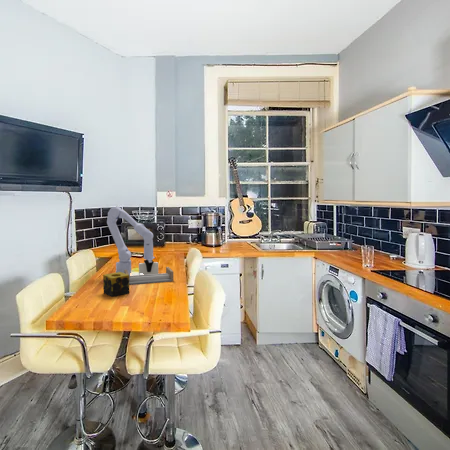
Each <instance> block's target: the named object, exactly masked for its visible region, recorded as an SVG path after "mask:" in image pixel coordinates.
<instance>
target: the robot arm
mask: <svg viewBox="0 0 450 450" xmlns="http://www.w3.org/2000/svg"><path fill="white" fill-rule="evenodd" d="M118 219H124V220H125V221H126V222H128V223H129V224H130V225H131V226H132V227H133V230H134V231H135V232H136V233H138V234H139V235H140V236H141V237H142V238H143V242H144V243H143V263H145V264H146V268H147V272H151V269H152V265H153V263H154V262H155V261H153V260H154V259H156V257H155V256H154V240H153V239H154V233H153V232H152V231H150V229H148V228H146V226H145V224H144V223H141V222H140V223H139V222H137V221H136V219H134V218H133V217H132V216H131V215H130V214H129V213H128V212H127V211H125V210H124V209H123V208H121V207H120V206H112V207H111V208H110V209H109V210H108V212H107V218H106V224H107V225H106V226H108V229H109V231H110V234H111V237H112V238H113V241H114V244H115V246H116V248H117V253H118V260H119V261H117V262H115V273H116V272H122V273H124V270H127V271H128V273H129V276H130V273H132V260H131V258H132V252H131V251H130V250H129V249H128V247H127V245H126V244H125V241H124V239H123V236H122V235H121V232H120V229H119V226H118V225H117V221H118Z"/></svg>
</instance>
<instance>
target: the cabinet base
mask: <svg viewBox="0 0 450 450" xmlns="http://www.w3.org/2000/svg"><path fill="white" fill-rule="evenodd" d="M124 273H125V274H127V275H129V273H128V271H127V270H124ZM168 282H170V283H171V282H174V270H172V269H171V267H170V266H166V268H165V272H162V273H158V274H149V275H139V274H137V275H135V274H134V275H133V276H129V286H135V285H147V284H156V283H157V284H158V283H168Z"/></svg>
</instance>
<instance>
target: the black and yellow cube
mask: <svg viewBox="0 0 450 450" xmlns="http://www.w3.org/2000/svg"><path fill="white" fill-rule="evenodd" d="M102 276H103V277H102V278H103V286H102V287H103V294H105V295H107V296H109V297H112V298H114V297H118V296H123V295H128V294H130V285H129V275H127V274H125V273H122V272H116V271H115V272H112V273H106V274H103V275H102Z"/></svg>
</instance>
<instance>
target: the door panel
mask: <svg viewBox="0 0 450 450" xmlns="http://www.w3.org/2000/svg"><path fill="white" fill-rule="evenodd" d="M139 273H143V274H144V275H149V274H159V262H157V261H154V263H153V265H152V269H151V272H147V268H146V264H145V263H144V262H139V263H138V274H139Z"/></svg>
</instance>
